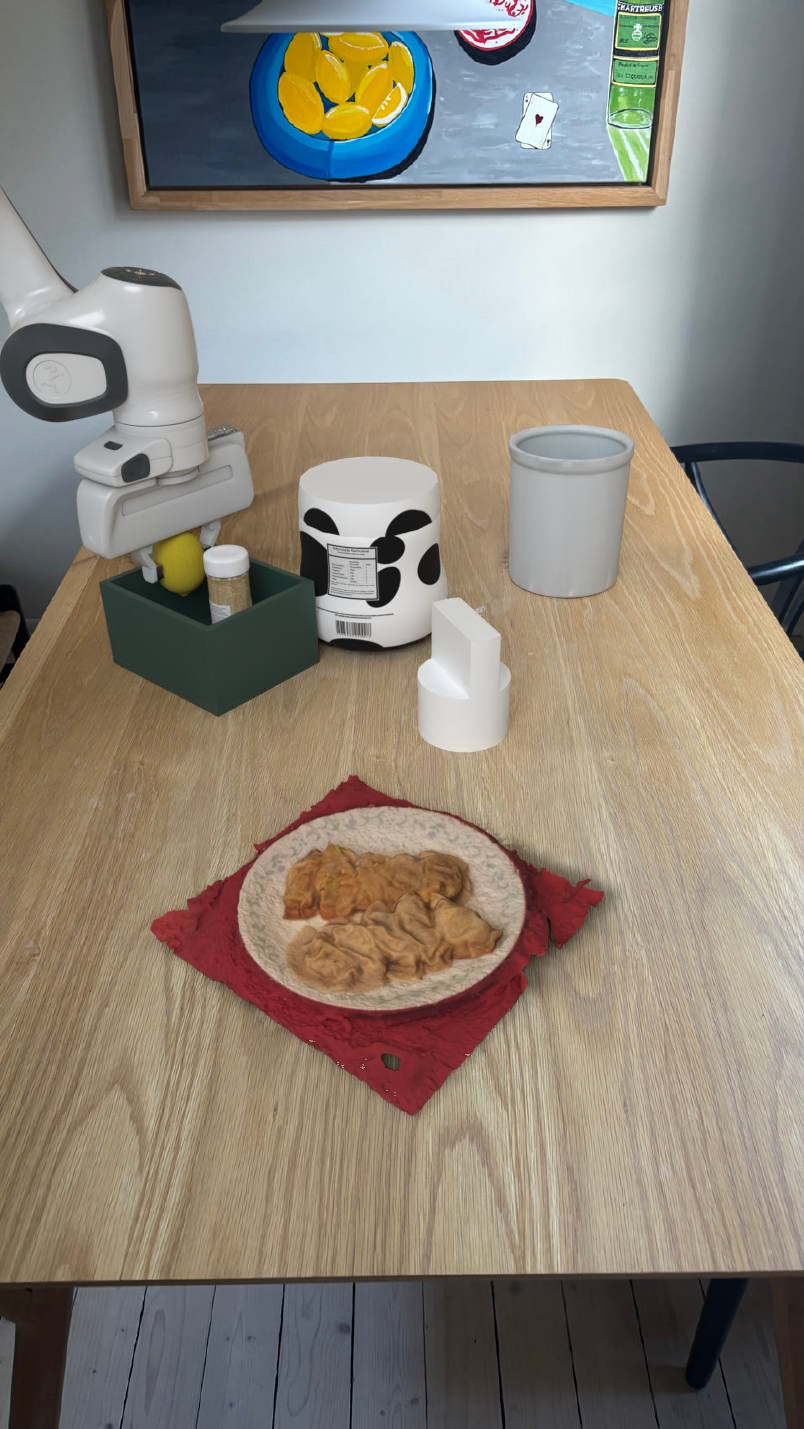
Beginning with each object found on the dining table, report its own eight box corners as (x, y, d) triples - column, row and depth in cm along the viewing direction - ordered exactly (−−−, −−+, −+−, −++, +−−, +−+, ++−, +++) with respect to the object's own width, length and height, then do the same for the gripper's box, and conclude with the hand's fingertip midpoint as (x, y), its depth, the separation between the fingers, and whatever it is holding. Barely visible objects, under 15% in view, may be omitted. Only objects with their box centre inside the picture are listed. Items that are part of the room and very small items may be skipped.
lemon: (191, 580, 115) (182, 513, 111) (220, 595, 112) (212, 526, 107) (148, 596, 112) (137, 527, 108) (177, 612, 108) (167, 541, 104)
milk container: (407, 585, 129) (406, 444, 120) (474, 643, 116) (478, 491, 106) (277, 613, 123) (265, 467, 113) (332, 678, 110) (323, 520, 100)
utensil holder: (485, 561, 135) (490, 429, 126) (587, 546, 139) (599, 417, 130) (531, 608, 123) (540, 466, 114) (641, 590, 127) (658, 452, 118)
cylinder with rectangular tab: (403, 714, 104) (401, 608, 97) (482, 695, 107) (486, 590, 100) (441, 761, 97) (442, 649, 90) (524, 739, 100) (531, 629, 93)
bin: (113, 662, 114) (98, 581, 108) (214, 616, 123) (205, 539, 118) (218, 717, 104) (207, 631, 98) (319, 662, 113) (314, 580, 108)
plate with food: (354, 790, 93) (352, 759, 91) (604, 906, 79) (606, 872, 77) (148, 942, 78) (140, 908, 76) (411, 1119, 64) (409, 1083, 62)
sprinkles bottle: (265, 671, 110) (254, 555, 103) (225, 681, 108) (210, 564, 101) (250, 653, 113) (238, 539, 106) (211, 663, 112) (196, 548, 104)
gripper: (221, 413, 111) (233, 533, 118) (58, 461, 98) (83, 592, 105) (261, 424, 108) (271, 547, 115) (97, 476, 95) (120, 610, 102)
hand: (180, 569), depth 110 cm, fingers closed on lemon, 5 cm apart
